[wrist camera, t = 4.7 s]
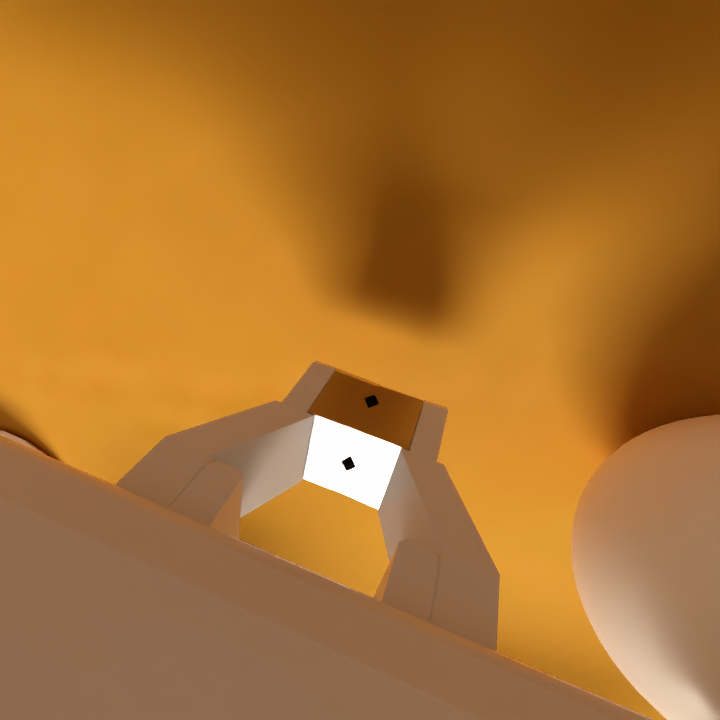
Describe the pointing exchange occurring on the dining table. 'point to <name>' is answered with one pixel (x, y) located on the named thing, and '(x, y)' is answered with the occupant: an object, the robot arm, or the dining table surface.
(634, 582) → the cue ball
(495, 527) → the dining table surface
